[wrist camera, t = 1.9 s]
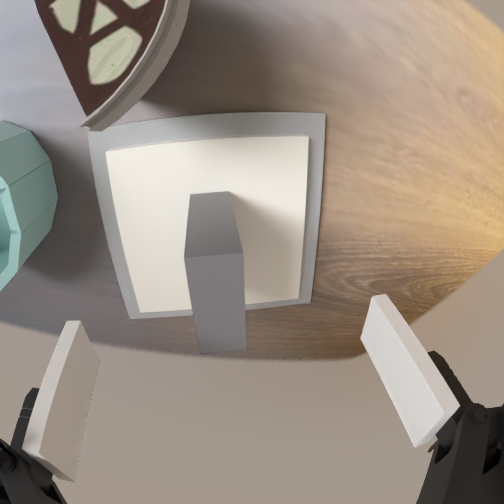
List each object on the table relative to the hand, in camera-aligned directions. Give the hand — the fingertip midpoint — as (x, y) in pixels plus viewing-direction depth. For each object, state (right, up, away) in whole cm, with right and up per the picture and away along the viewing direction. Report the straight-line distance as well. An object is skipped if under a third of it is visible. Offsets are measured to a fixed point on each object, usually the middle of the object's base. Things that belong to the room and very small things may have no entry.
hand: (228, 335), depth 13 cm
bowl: (-19, +8, +5) cm, 21 cm away
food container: (-6, +19, +2) cm, 20 cm away
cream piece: (-2, +5, +9) cm, 11 cm away
